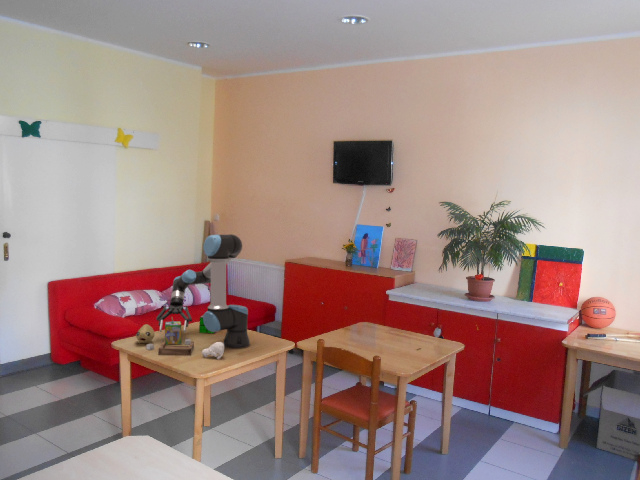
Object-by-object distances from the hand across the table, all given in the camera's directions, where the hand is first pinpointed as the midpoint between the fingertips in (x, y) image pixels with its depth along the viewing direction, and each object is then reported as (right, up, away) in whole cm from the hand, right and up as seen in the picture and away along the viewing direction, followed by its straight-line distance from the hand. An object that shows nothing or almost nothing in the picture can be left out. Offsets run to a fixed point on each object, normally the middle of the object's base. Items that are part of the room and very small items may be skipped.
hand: (172, 331), depth 305 cm
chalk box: (0, -7, +2) cm, 7 cm away
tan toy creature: (-15, -7, -2) cm, 17 cm away
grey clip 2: (+9, -8, 0) cm, 12 cm away
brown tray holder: (+6, -9, -14) cm, 17 cm away
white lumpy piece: (+28, -11, -21) cm, 37 cm away
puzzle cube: (+15, -6, +30) cm, 34 cm away
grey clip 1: (-9, -8, -13) cm, 17 cm away
